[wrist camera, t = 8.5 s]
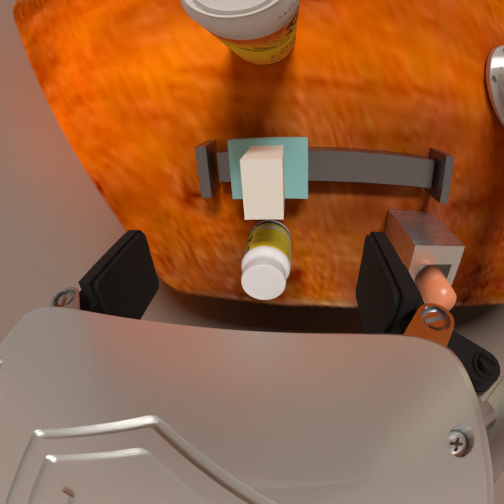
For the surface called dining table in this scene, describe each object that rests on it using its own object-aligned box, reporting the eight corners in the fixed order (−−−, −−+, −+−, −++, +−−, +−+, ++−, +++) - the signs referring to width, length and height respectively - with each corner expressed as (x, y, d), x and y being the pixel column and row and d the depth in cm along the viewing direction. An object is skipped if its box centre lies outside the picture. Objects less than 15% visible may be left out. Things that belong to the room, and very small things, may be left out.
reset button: (443, 264, 22) (460, 289, 18) (435, 288, 23) (449, 314, 20) (419, 264, 22) (435, 291, 19) (412, 289, 24) (424, 317, 20)
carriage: (305, 134, 24) (314, 150, 16) (305, 188, 27) (312, 227, 19) (234, 136, 25) (208, 153, 17) (238, 188, 28) (217, 227, 20)
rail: (437, 149, 22) (454, 156, 19) (432, 191, 25) (446, 203, 22) (206, 141, 26) (195, 147, 23) (211, 186, 29) (201, 197, 25)
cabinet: (432, 212, 26) (465, 246, 19) (417, 269, 30) (440, 311, 24) (388, 209, 27) (415, 245, 20) (377, 270, 31) (394, 314, 25)
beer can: (286, 72, 21) (284, 35, 9) (225, 59, 21) (157, 22, 9) (301, 21, 18) (313, -54, 5) (240, 9, 18) (191, -63, 5)
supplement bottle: (248, 218, 30) (234, 259, 23) (291, 219, 29) (291, 261, 22) (250, 255, 33) (238, 302, 25) (290, 256, 32) (289, 304, 25)
